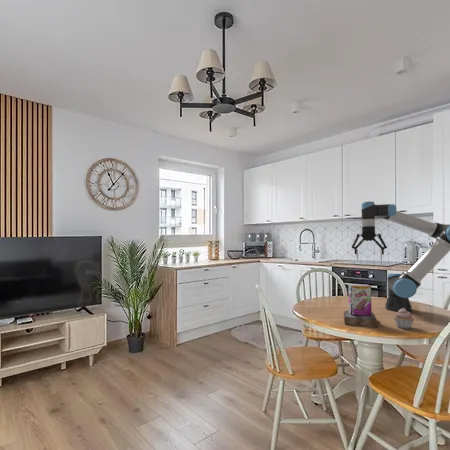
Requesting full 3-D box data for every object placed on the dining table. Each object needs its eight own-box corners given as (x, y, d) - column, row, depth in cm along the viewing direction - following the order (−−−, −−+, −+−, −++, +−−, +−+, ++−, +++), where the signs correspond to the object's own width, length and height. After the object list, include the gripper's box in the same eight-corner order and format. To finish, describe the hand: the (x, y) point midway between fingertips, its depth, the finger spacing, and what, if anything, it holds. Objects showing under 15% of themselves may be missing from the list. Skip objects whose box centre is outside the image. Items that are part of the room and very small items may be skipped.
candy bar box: (351, 315, 171) (350, 285, 171) (348, 313, 176) (347, 284, 176) (372, 316, 169) (371, 285, 170) (369, 313, 174) (368, 284, 175)
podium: (373, 319, 177) (373, 312, 178) (377, 327, 162) (377, 319, 162) (343, 317, 183) (343, 310, 183) (344, 324, 168) (344, 316, 168)
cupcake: (416, 327, 162) (416, 308, 162) (411, 331, 155) (411, 311, 156) (397, 323, 168) (396, 305, 169) (391, 327, 162) (390, 308, 162)
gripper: (347, 226, 197) (348, 259, 196) (391, 225, 189) (392, 260, 188) (347, 226, 204) (347, 258, 203) (389, 225, 196) (390, 259, 195)
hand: (369, 259), depth 196 cm, fingers open, 13 cm apart
